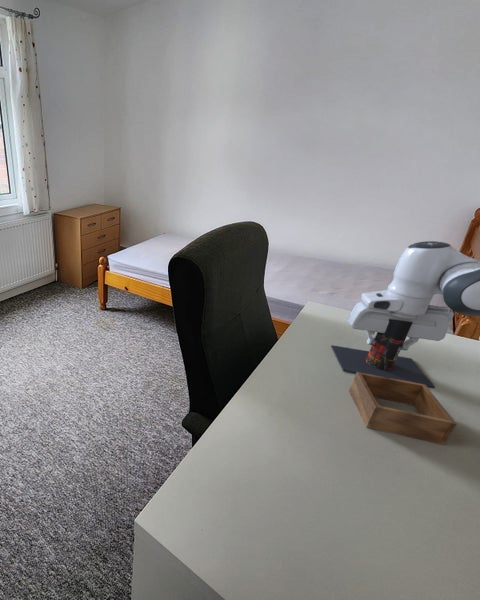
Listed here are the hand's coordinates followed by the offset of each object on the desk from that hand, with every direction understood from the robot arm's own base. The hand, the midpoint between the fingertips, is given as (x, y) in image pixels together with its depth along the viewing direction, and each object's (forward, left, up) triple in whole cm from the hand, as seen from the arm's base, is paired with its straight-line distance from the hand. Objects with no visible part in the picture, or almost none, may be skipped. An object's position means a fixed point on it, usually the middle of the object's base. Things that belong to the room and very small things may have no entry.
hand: (386, 346), depth 95 cm
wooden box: (+4, +23, -6) cm, 24 cm away
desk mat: (0, 0, -6) cm, 6 cm away
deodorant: (0, 0, -6) cm, 6 cm away
